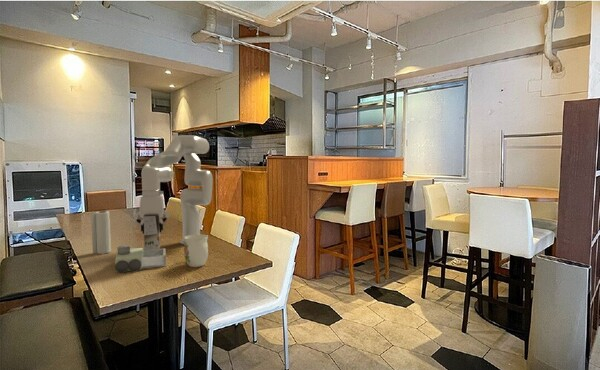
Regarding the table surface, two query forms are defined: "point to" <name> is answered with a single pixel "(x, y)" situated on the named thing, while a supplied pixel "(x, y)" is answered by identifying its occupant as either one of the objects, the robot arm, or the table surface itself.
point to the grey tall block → (101, 232)
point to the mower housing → (128, 259)
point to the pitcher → (196, 250)
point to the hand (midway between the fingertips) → (152, 231)
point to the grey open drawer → (154, 258)
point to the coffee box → (151, 232)
